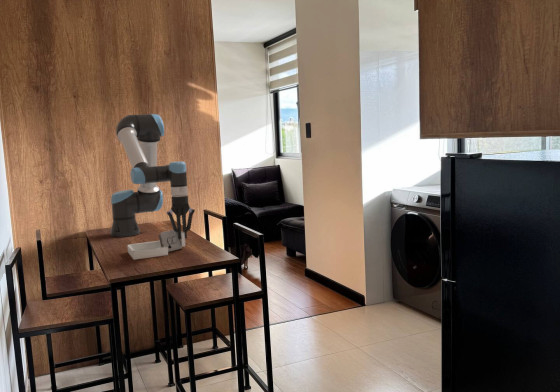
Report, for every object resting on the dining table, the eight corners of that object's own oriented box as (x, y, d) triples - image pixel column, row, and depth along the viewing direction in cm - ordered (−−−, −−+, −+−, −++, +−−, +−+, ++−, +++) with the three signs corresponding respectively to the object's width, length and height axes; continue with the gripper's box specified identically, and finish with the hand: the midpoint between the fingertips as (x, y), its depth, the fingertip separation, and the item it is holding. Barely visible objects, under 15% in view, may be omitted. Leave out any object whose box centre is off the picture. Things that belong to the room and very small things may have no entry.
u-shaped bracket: (127, 252, 245) (127, 244, 244) (160, 247, 251) (160, 240, 250) (133, 259, 230) (133, 251, 230) (168, 254, 236) (167, 247, 236)
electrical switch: (165, 253, 240) (163, 232, 240) (159, 252, 244) (156, 232, 243) (182, 248, 247) (180, 229, 246) (175, 248, 251) (173, 229, 250)
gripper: (167, 197, 238) (171, 249, 241) (195, 195, 243) (198, 245, 246) (163, 196, 245) (167, 246, 248) (191, 193, 250) (194, 242, 253)
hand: (183, 245), depth 247 cm, fingers closed
